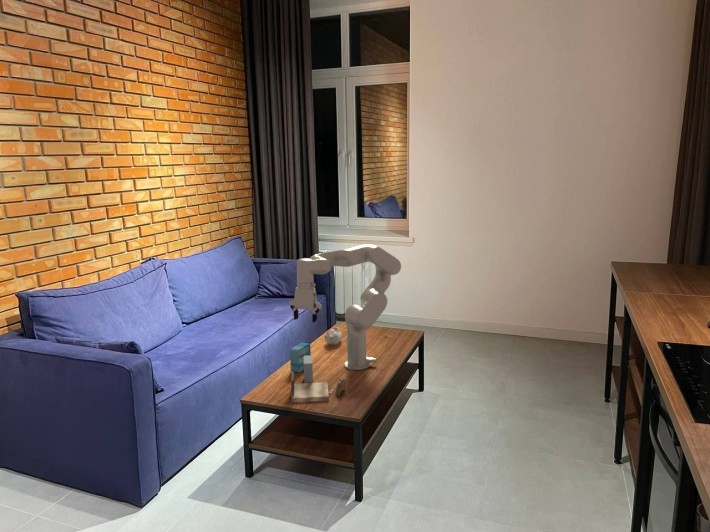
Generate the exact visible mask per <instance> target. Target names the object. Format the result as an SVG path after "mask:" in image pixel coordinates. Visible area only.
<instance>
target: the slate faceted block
mask: <svg viewBox="0 0 710 532" xmlns="http://www.w3.org/2000/svg"><path fill="white" fill-rule="evenodd" d="M313 365H314V364H313V355H312V354H311V355H310V356H304V370H303V379H304V383H314V371H313V369H314V367H313Z"/></svg>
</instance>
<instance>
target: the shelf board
mask: <svg viewBox="0 0 710 532" xmlns="http://www.w3.org/2000/svg"><path fill="white" fill-rule="evenodd" d="M290 375H291V376H290V377H291V378H290V382H291V384H290V385H291V403H292V404H294V403H308V402H309V403H310V402H311V403H312V402H325V401H326V402H327V401H330V396H329V395H330V394H328V393H329V388H328V387H329V386H328V381H324V382H323V381H322V382H321V381H320V382H313V383H295V372H293V371H291V374H290Z"/></svg>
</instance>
